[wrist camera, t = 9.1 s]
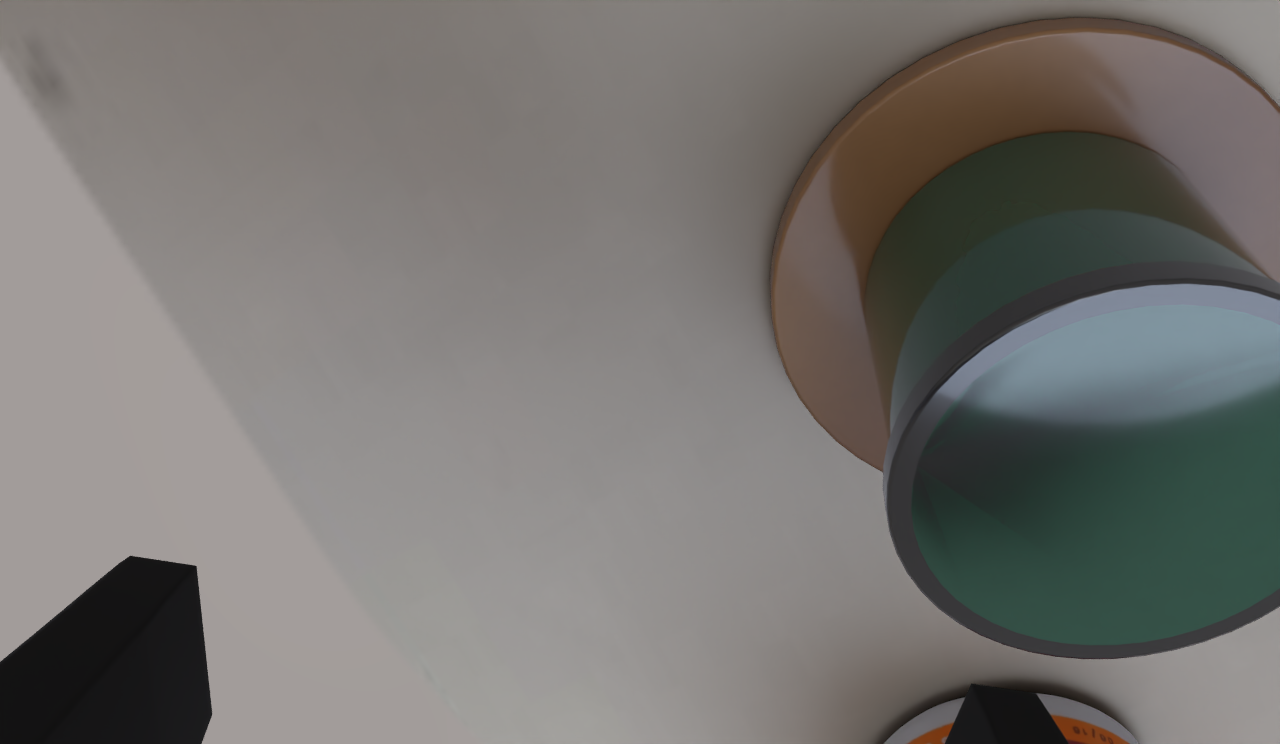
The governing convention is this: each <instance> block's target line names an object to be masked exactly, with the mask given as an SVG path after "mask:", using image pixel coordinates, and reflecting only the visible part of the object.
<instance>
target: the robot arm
mask: <svg viewBox="0 0 1280 744" xmlns="http://www.w3.org/2000/svg"><path fill="white" fill-rule="evenodd" d="M207 671H208V670H207V661H206V651H205V642H204V633H203V624H202V614H201V604H200V595H199V586H198V576H197V567H196V566H193V565H187V564H180V563H173V562H168V561H161V560H154V559H148V558H141V557H134V556H129V557H128V558H126V559H125V560H123V561H122V562H120V563H119V564H118V565H117V566H115V567H114V568H113V569H112V570H111V571H109V572H108V573H107V574H106V575H104V576H103V577H102V578H101V579H100V580H98V581H97V582H96V583H95V584H94V585H92V586H91V587H90V588H89V589H88V590H86V591H85V592H84V593H83V594H82V595H80V596H79V597H78V598H77V599H76V600H75V601H73V602H72V603H71V604H70V605H68V606H67V607H66V608H65V609H64V610H63V611H62V612H60V613H59V614H58V615H56V616H55V617H54V618H53V619H52V620H50V621H49V622H48V623H47V624H46V625H45V626H43V627H42V628H41V629H40V630H39V631H37V632H36V633H35V634H34V635H33V636H31V637H30V638H29V639H28V640H26V641H25V642H24V643H23V644H21V645H20V646H19V647H18V648H17V649H15V650H14V651H13V652H12V653H10V654H9V655H8V656H7V657H6V658H4V659H3V660H2V661H1V662H0V744H201V743H202V741H203V738H204V735H205V732H206V730H207V727H208V724H209V722H210V719H211V716H212V708H211V698H210V690H209V681H208V672H207ZM945 744H1069V743H1068V741H1067V740H1066V738H1065V737H1064V735H1063V733H1062V732H1061V730H1060V729H1059V727H1058V726H1057V724H1056V723H1055V721H1054V719H1053V718H1052V716H1051V715H1050V713H1049V712H1048V710H1047V709H1046V707H1045V706H1044V704H1043V703H1042V701H1041V700H1040V698H1039V697H1038V695H1037V694H1036V693H1030V692H1023V691H1016V690H1010V689H1003V688H997V687H990V686H983V685H977V684H971V686H970V688H969V690H968V692H967V694H966V697H965V699H964V701H963V703H962V706H961V708H960V710H959V712H958V715H957V717H956V719H955V721H954V724H953V726H952V728H951V730H950V733H949V735H948V737H947V739H946V742H945Z"/></svg>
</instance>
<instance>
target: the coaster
mask: <svg viewBox="0 0 1280 744" xmlns="http://www.w3.org/2000/svg"><path fill="white" fill-rule="evenodd" d="M1056 132H1082V133H1095V134H1101V135H1106V136H1111V137H1116V138H1120V139H1123V140H1126V141H1129V142H1132V143H1135V144H1138V145H1140V146H1142V147H1144V148H1146V149H1148V150H1150V151H1152V152H1154V153H1156V154H1158V155H1160V156H1161V157H1163V158H1164V159H1166V160H1167V161H1168V162H1170V163H1171V164H1173V165H1174V166H1175V167H1177V168H1178V169H1179V170H1180V171H1181V172H1182V173H1183V174H1184V175H1185V176H1186V177H1187V178H1188V179H1189V180H1190V181H1191V182H1192V183H1193V184H1194V185H1195V186H1196V188H1197V189H1198V190H1199V191H1200V192H1201V193H1202V195H1203V196H1204V197H1205V198H1206V199H1207V200H1208V202H1209V203H1210V204H1211V205H1212V206H1213V207H1214V209H1215V210H1216V211H1217V212H1218V213H1219V214H1220V215H1221V217H1222V218H1223V219H1224V220H1225V221H1226V222H1227V224H1228V225H1229V226H1230V227H1231V228H1232V229H1233V231H1234V232H1235V233H1236V234H1237V235H1238V236H1239V238H1240V239H1241V240H1242V241H1243V242H1244V243H1245V245H1246V246H1247V247H1248V248H1249V249H1250V250H1251V252H1252V253H1253V254H1254V255H1255V256H1256V257H1257V259H1258V260H1259V261H1260V262H1261V263H1262V264H1263V266H1264V267H1265V268H1266V269H1267V270H1268V271H1269V273H1270V274H1271V275H1272V276H1273V277H1274V278H1275V279H1276V281H1277V282H1279V283H1280V107H1279V106H1278V105H1277V104H1276V102H1275V101H1274V100H1273V99H1272V98H1271V97H1270V96H1269V95H1268V94H1267V93H1266V92H1265V91H1264V90H1263V89H1262V87H1260V86H1259V85H1258V84H1257V83H1256V82H1254V81H1253V80H1252V79H1251V78H1250V77H1248V76H1247V75H1246V74H1244V73H1243V72H1242V71H1240V70H1239V69H1238V68H1236V67H1235V66H1234V65H1233V64H1231V63H1230V62H1229V61H1227V60H1226V59H1225V58H1223V57H1222V56H1220V55H1219V54H1217V53H1215V52H1213V51H1211V50H1209V49H1207V48H1205V47H1204V46H1202V45H1200V44H1198V43H1196V42H1194V41H1192V40H1190V39H1188V38H1185V37H1182V36H1179V35H1176V34H1173V33H1171V32H1168V31H1165V30H1162V29H1159V28H1156V27H1152V26H1147V25H1142V24H1137V23H1132V22H1127V21H1121V20H1113V19H1096V18H1079V17H1078V18H1064V19H1050V20H1038V21H1033V22H1028V23H1023V24H1017V25H1012V26H1007V27H1002V28H998V29H995V30H992V31H989V32H986V33H982V34H979V35H976V36H973V37H970V38H967V39H964V40H961V41H959V42H956V43H954V44H952V45H950V46H948V47H946V48H943V49H941V50H939V51H937V52H935V53H933V54H930V55H928V56H926V57H924V58H922V59H921V60H919V61H917V62H916V63H914V64H913V65H911V66H909V67H908V68H906V69H904V70H903V71H901V72H899V73H898V74H896V75H895V76H893V77H891V78H890V79H889V80H887V81H886V82H885V83H883V84H882V85H881V86H880V87H878V88H877V89H876V90H875V91H873V92H872V93H871V94H870V95H868V96H867V97H866V98H864V99H863V100H862V101H861V102H860V103H859V104H858V105H857V106H856V107H855V108H854V109H853V110H852V111H851V112H850V113H849V114H848V115H847V116H846V117H845V118H844V119H843V120H842V121H841V122H840V123H839V124H838V125H837V126H836V127H835V128H834V129H833V130H832V131H831V133H830V134H829V135H828V136H827V138H826V139H825V140H824V142H823V143H822V144H821V145H820V147H819V148H818V149H817V151H816V152H815V153H814V155H813V156H812V157H811V159H810V161H809V162H808V164H807V166H806V167H805V169H804V171H803V173H802V174H801V176H800V178H799V179H798V181H797V183H796V184H795V186H794V188H793V191H792V193H791V196H790V198H789V200H788V203H787V205H786V207H785V210H784V212H783V215H782V217H781V221H780V225H779V228H778V232H777V236H776V240H775V244H774V248H773V256H772V265H771V274H770V289H771V313H772V323H773V328H774V334H775V339H776V344H777V349H778V352H779V354H780V357H781V360H782V363H783V366H784V369H785V372H786V374H787V376H788V378H789V380H790V382H791V384H792V386H793V387H794V389H795V391H796V393H797V395H798V397H799V399H800V400H801V401H802V403H803V404H804V405H805V407H806V408H807V409H808V411H809V412H810V413H811V415H812V416H813V417H814V419H815V420H816V421H817V422H818V423H819V424H820V425H821V426H822V427H823V428H824V429H825V430H826V431H827V432H828V433H829V434H830V435H831V436H832V437H833V438H834V439H835V440H836V441H837V442H838V443H839V444H841V445H842V446H843V447H845V448H846V449H847V450H848V451H850V452H851V453H852V454H854V455H855V456H856V457H858V458H859V459H861V460H863V461H864V462H866V463H868V464H869V465H871V466H873V467H875V468H876V469H878V470H880V471H882V472H883V465H884V460H885V455H886V450H887V445H888V438H887V433H886V428H885V423H884V418H883V412H882V407H881V402H880V397H879V392H878V387H877V382H876V377H875V372H874V366H873V361H872V356H871V351H870V346H869V341H868V336H867V330H866V323H865V315H864V297H865V288H866V283H867V277H868V272H869V269H870V266H871V263H872V260H873V257H874V254H875V252H876V250H877V248H878V246H879V244H880V242H881V240H882V238H883V235H884V234H885V232H886V231H887V229H888V228H889V226H890V225H891V223H892V222H893V220H894V219H895V217H896V216H897V215H898V213H899V212H900V211H901V210H902V209H903V208H904V206H905V205H906V204H907V203H908V202H909V200H910V199H911V198H912V197H913V196H914V195H915V194H917V193H918V192H919V191H920V190H921V189H922V188H923V187H924V186H925V185H926V184H927V183H928V182H930V181H931V180H932V179H934V178H935V177H936V176H938V175H939V174H941V173H942V172H943V171H945V170H946V169H947V168H949V167H950V166H952V165H954V164H956V163H958V162H959V161H961V160H963V159H965V158H966V157H968V156H970V155H972V154H974V153H977V152H979V151H981V150H984V149H986V148H988V147H991V146H993V145H996V144H999V143H1003V142H1006V141H1009V140H1013V139H1016V138H1020V137H1026V136H1031V135H1037V134H1042V133H1056Z"/></svg>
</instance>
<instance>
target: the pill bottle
mask: <svg viewBox="0 0 1280 744" xmlns="http://www.w3.org/2000/svg"><path fill="white" fill-rule="evenodd" d="M1036 694H1037V695H1038V697H1039V698H1040V700H1041V701H1042V703H1043V704H1044V706H1045V707H1046V709H1047V710H1048V712H1049V713H1050V715H1051V716H1052V718H1053V719H1054V721H1055V723H1056V724H1057V726H1058V727H1059V729H1060V730H1061V732H1062V733H1063V735H1064V737H1065V738H1066V740H1067V741H1068V743H1069V744H1139V743H1138V741H1137V740H1136V739H1135V738H1134V736H1133V735H1132V734H1131V733H1130V732H1129V731H1128V730H1127V729H1126V728H1124V727H1123V726H1122V725H1121V724H1120V723H1118V722H1117V721H1115V720H1114V719H1112V718H1111V717H1109V716H1108V715H1106V714H1104V713H1102V712H1101V711H1099V710H1097V709H1095V708H1092V707H1090V706H1088V705H1085V704H1082V703H1080V702H1077V701H1074V700H1070V699H1067V698H1063V697H1058V696H1053V695H1047V694H1040V693H1036ZM964 699H965V697H964V698H959V699H955V700H952V701H949V702H945V703H943V704H940V705H937V706H935V707H933V708H931V709H928V710H926V711H925V712H923V713H921V714H919V715H918V716H916V717H915V718H913V719H912V720H910V721H909V722H907V723H906V724H905V725H903V726H902V727H901V728H899V729H898V730H897V731H896V732H895V733H894V734H893V735H892V736H891V737H890V738H889V739H888V740H887V741H886V742H885V743H884V744H945V742H946V739H947V737H948V735H949V733H950V730H951V728H952V726H953V724H954V721H955V719H956V717H957V715H958V712H959V710H960V708H961V706H962V703H963V701H964Z"/></svg>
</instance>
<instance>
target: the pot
mask: <svg viewBox="0 0 1280 744" xmlns="http://www.w3.org/2000/svg"><path fill="white" fill-rule="evenodd" d="M864 315H865V323H866V330H867V336H868V341H869V346H870V351H871V356H872V361H873V366H874V372H875V377H876V382H877V387H878V392H879V397H880V402H881V407H882V412H883V418H884V423H885V428H886V433H887V438H888V445H887V450H886V455H885V460H884V465H883V495H884V502H885V509H886V515H887V521H888V527H889V532H890V535H891V538H892V541H893V544H894V547H895V550H896V553H897V555H898V557H899V559H900V561H901V562H902V564H903V566H904V568H905V570H906V572H907V573H908V575H909V576H910V577H911V579H912V580H913V581H914V583H915V584H916V585H917V587H918V588H919V589H920V591H921V592H922V593H923V594H924V595H925V596H926V597H927V598H928V599H929V600H930V601H931V602H932V603H933V604H934V605H936V606H937V607H938V608H939V609H940V610H941V611H943V612H944V613H945V614H947V615H948V616H949V617H951V618H952V619H954V620H955V621H956V622H958V623H959V624H961V625H963V626H965V627H966V628H968V629H970V630H972V631H974V632H976V633H977V634H979V635H981V636H984V637H986V638H989V639H991V640H994V641H996V642H999V643H1001V644H1003V645H1007V646H1010V647H1014V648H1017V649H1021V650H1024V651H1028V652H1032V653H1038V654H1044V655H1050V656H1055V657H1066V658H1078V659H1117V658H1127V657H1137V656H1146V655H1151V654H1157V653H1162V652H1167V651H1173V650H1177V649H1180V648H1184V647H1188V646H1191V645H1195V644H1199V643H1202V642H1205V641H1208V640H1211V639H1213V638H1216V637H1219V636H1221V635H1224V634H1227V633H1230V632H1232V631H1234V630H1236V629H1239V628H1241V627H1243V626H1245V625H1247V624H1249V623H1251V622H1253V621H1256V620H1258V619H1260V618H1261V617H1263V616H1265V615H1267V614H1268V613H1270V612H1272V611H1273V610H1275V609H1277V608H1279V607H1280V283H1279V282H1277V281H1276V279H1275V278H1274V277H1273V276H1272V275H1271V274H1270V273H1269V271H1268V270H1267V269H1266V268H1265V267H1264V266H1263V264H1262V263H1261V262H1260V261H1259V260H1258V259H1257V257H1256V256H1255V255H1254V254H1253V253H1252V252H1251V250H1250V249H1249V248H1248V247H1247V246H1246V245H1245V243H1244V242H1243V241H1242V240H1241V239H1240V238H1239V236H1238V235H1237V234H1236V233H1235V232H1234V231H1233V229H1232V228H1231V227H1230V226H1229V225H1228V224H1227V222H1226V221H1225V220H1224V219H1223V218H1222V217H1221V215H1220V214H1219V213H1218V212H1217V211H1216V210H1215V209H1214V207H1213V206H1212V205H1211V204H1210V203H1209V202H1208V200H1207V199H1206V198H1205V197H1204V196H1203V195H1202V193H1201V192H1200V191H1199V190H1198V189H1197V188H1196V186H1195V185H1194V184H1193V183H1192V182H1191V181H1190V180H1189V179H1188V178H1187V177H1186V176H1185V175H1184V174H1183V173H1182V172H1181V171H1180V170H1179V169H1178V168H1177V167H1175V166H1174V165H1173V164H1171V163H1170V162H1168V161H1167V160H1166V159H1164V158H1163V157H1161V156H1160V155H1158V154H1156V153H1154V152H1152V151H1150V150H1148V149H1146V148H1144V147H1142V146H1140V145H1138V144H1135V143H1132V142H1129V141H1126V140H1123V139H1120V138H1116V137H1111V136H1106V135H1101V134H1095V133H1082V132H1056V133H1042V134H1037V135H1031V136H1026V137H1020V138H1016V139H1013V140H1009V141H1006V142H1003V143H999V144H996V145H993V146H991V147H988V148H986V149H984V150H981V151H979V152H977V153H974V154H972V155H970V156H968V157H966V158H965V159H963V160H961V161H959V162H958V163H956V164H954V165H952V166H950V167H949V168H947V169H946V170H945V171H943V172H942V173H941V174H939V175H938V176H936V177H935V178H934V179H932V180H931V181H930V182H928V183H927V184H926V185H925V186H924V187H923V188H922V189H921V190H920V191H919V192H918V193H917V194H915V195H914V196H913V197H912V198H911V199H910V200H909V202H908V203H907V204H906V205H905V206H904V208H903V209H902V210H901V211H900V212H899V213H898V215H897V216H896V217H895V219H894V220H893V222H892V223H891V225H890V226H889V228H888V229H887V231H886V232H885V234H884V235H883V238H882V240H881V242H880V244H879V246H878V248H877V250H876V252H875V254H874V257H873V260H872V263H871V266H870V269H869V272H868V277H867V283H866V288H865V297H864Z"/></svg>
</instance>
